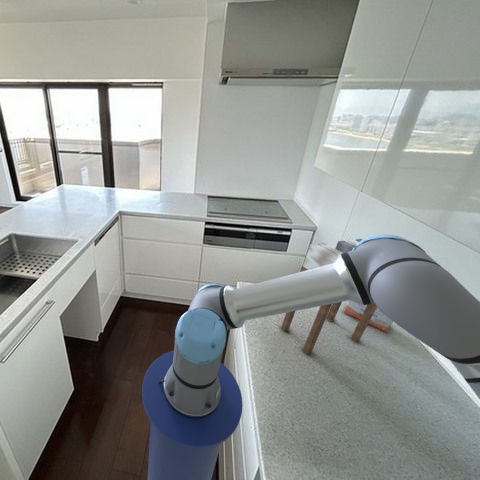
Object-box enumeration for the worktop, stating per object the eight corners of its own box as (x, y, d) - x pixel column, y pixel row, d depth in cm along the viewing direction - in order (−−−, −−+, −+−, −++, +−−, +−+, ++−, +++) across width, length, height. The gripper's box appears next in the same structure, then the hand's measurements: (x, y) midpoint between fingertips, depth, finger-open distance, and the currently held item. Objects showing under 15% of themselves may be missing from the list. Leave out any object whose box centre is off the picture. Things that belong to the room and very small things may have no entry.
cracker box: (343, 313, 102) (363, 268, 93) (347, 306, 106) (367, 263, 97) (387, 333, 93) (414, 286, 84) (389, 325, 96) (416, 279, 87)
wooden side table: (359, 341, 89) (404, 255, 74) (306, 354, 82) (344, 263, 68) (329, 317, 99) (363, 238, 85) (281, 327, 93) (309, 244, 78)
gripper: (429, 363, 59) (364, 274, 72) (470, 350, 64) (402, 268, 76) (466, 357, 53) (388, 260, 66) (508, 343, 58) (427, 255, 70)
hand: (395, 264), depth 71 cm, fingers closed on white book, 2 cm apart
